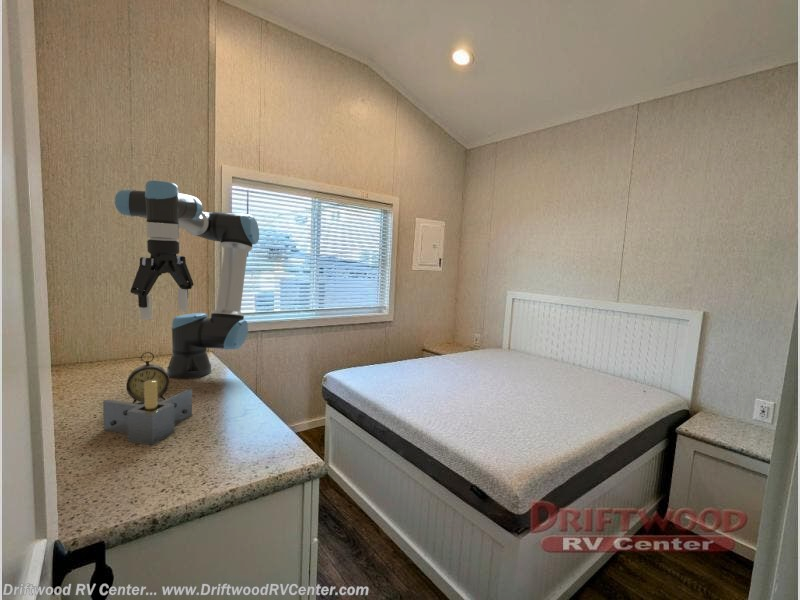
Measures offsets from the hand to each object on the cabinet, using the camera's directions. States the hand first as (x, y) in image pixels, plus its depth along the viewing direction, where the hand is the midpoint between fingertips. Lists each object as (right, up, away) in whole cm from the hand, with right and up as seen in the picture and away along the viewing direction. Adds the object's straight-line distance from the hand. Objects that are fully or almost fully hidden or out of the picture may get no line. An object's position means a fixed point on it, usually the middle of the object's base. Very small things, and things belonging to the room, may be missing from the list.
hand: (165, 314), depth 108 cm
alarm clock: (-13, -28, +11) cm, 33 cm away
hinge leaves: (-2, -31, -3) cm, 31 cm away
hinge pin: (+2, -32, -9) cm, 33 cm away
